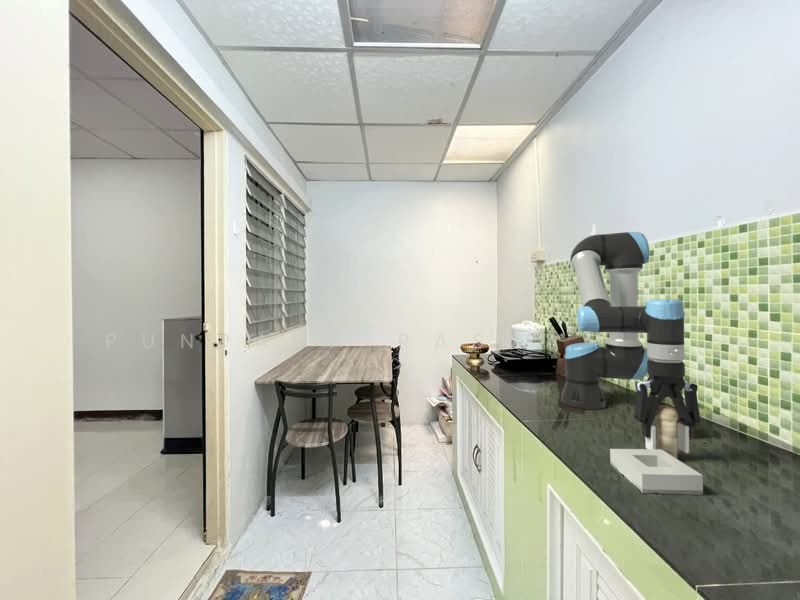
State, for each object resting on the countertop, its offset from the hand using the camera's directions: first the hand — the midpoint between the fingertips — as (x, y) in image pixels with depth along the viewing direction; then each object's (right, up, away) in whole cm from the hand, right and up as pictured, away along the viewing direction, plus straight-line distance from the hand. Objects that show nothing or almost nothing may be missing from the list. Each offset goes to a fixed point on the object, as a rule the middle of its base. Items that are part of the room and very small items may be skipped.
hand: (666, 450), depth 85 cm
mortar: (-11, -2, -9) cm, 14 cm away
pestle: (0, -2, 0) cm, 2 cm away
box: (+15, -2, +15) cm, 21 cm away
